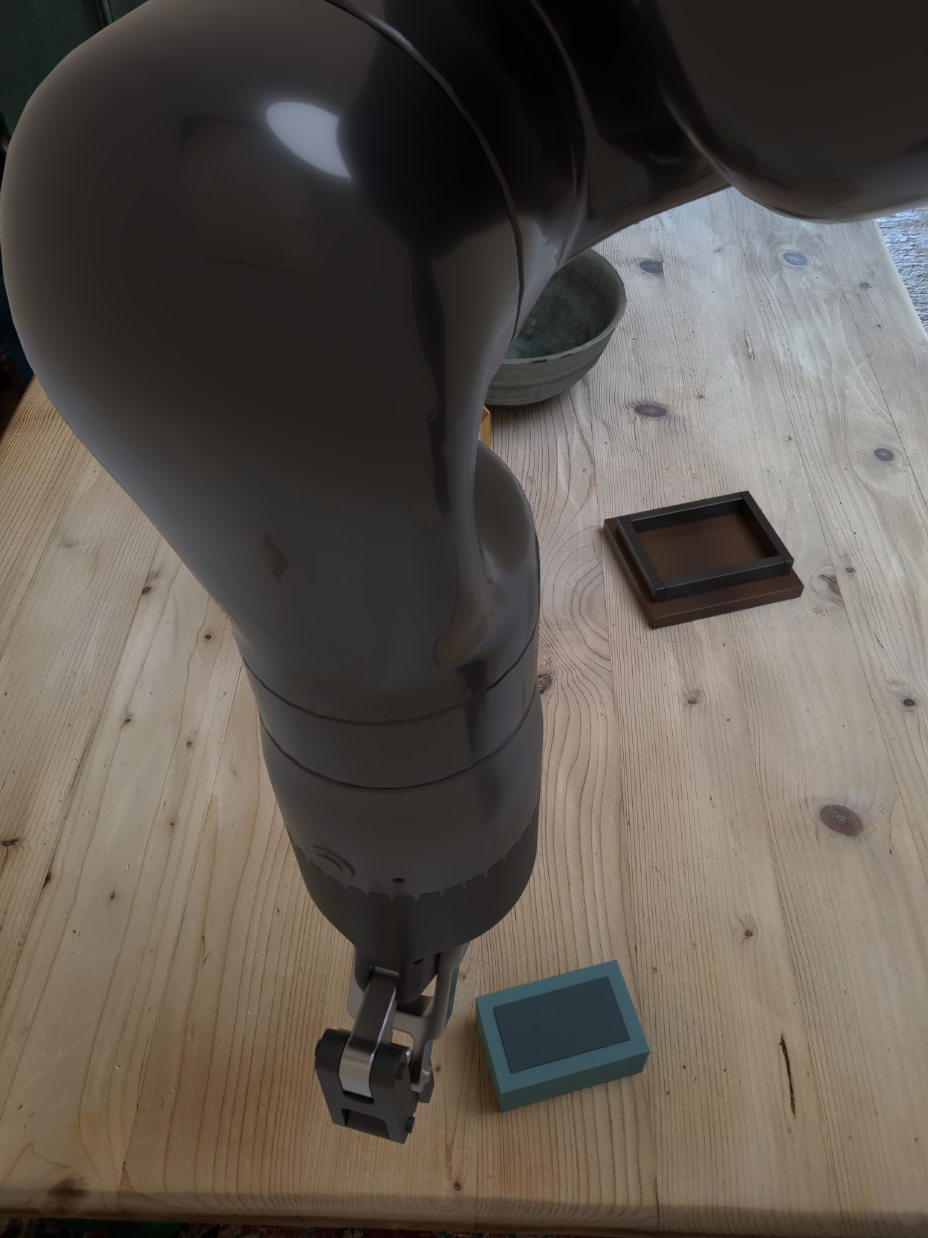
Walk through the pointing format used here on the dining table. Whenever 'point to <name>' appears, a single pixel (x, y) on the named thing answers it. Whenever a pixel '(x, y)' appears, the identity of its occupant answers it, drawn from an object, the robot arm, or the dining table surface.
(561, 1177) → the dining table surface
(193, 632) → the dining table surface
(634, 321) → the dining table surface
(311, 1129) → the dining table surface
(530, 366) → the bowl
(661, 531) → the back plate
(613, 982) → the pad
